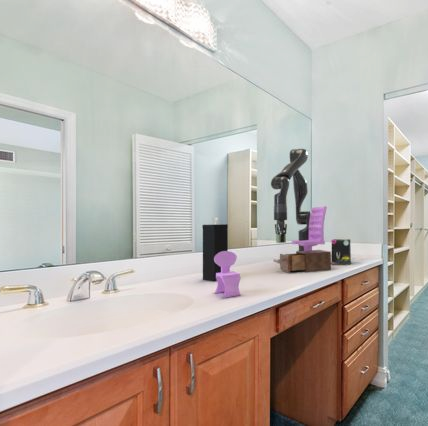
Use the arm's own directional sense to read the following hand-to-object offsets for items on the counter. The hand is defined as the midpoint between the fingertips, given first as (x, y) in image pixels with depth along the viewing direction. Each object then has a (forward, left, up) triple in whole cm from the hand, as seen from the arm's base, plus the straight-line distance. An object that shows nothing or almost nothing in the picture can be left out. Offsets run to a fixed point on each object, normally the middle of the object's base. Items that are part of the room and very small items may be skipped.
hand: (280, 241), depth 158 cm
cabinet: (+14, +13, -14) cm, 24 cm away
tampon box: (+3, +38, -15) cm, 41 cm away
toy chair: (+47, -38, -15) cm, 63 cm away
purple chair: (-4, +20, -15) cm, 25 cm away
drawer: (+14, +1, -14) cm, 20 cm away
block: (0, 0, 0) cm, 0 cm away
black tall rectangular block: (+16, -38, -15) cm, 44 cm away
